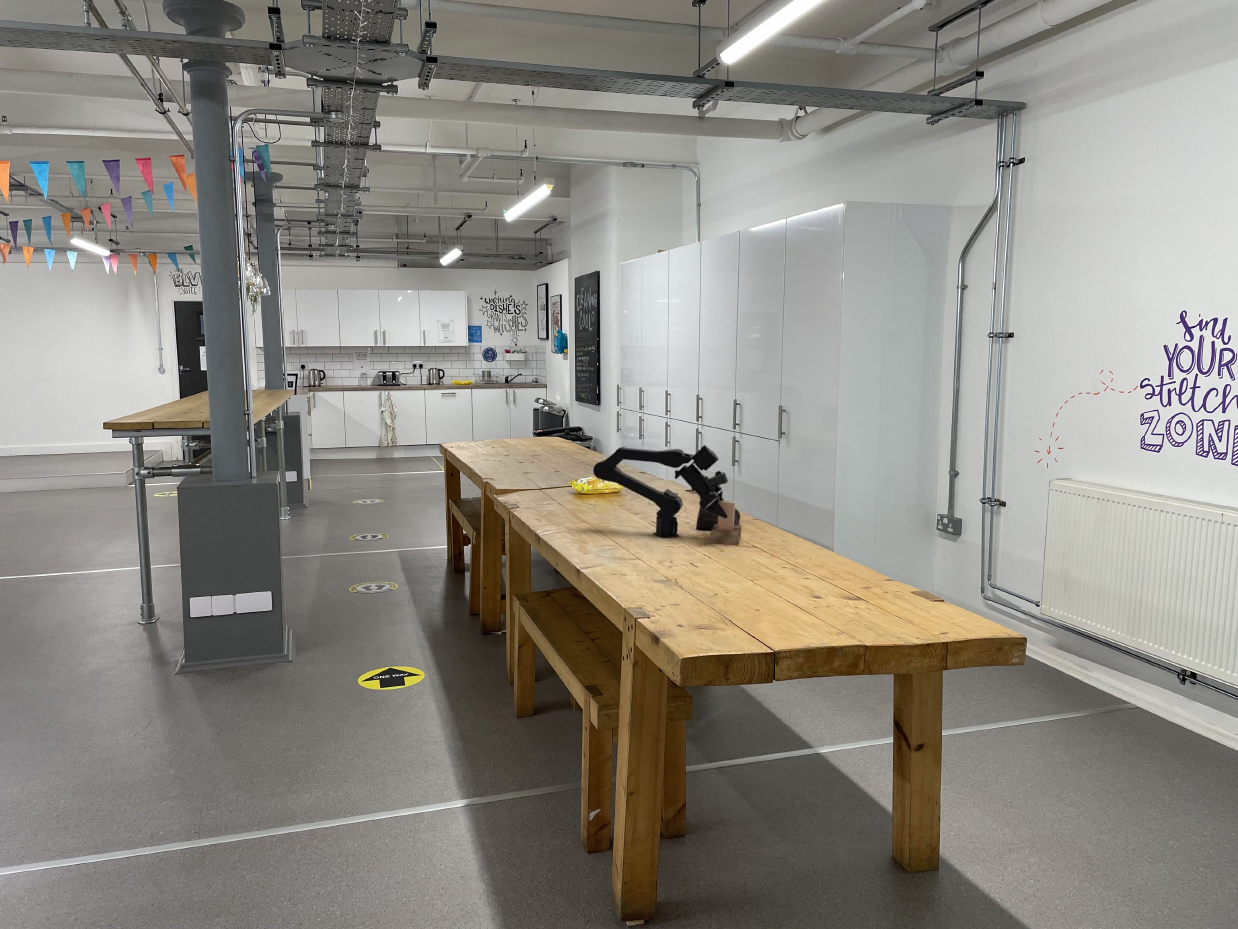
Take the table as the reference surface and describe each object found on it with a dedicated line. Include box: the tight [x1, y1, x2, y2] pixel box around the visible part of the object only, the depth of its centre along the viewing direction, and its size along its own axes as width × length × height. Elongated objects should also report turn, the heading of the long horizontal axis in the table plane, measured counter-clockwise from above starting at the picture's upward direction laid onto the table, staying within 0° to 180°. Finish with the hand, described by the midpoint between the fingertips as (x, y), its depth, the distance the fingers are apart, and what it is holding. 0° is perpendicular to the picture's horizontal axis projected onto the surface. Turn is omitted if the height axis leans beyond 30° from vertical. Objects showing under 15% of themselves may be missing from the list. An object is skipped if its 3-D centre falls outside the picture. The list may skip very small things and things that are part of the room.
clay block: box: [718, 500, 736, 531], centre depth 285 cm, size 5×4×12 cm
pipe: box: [695, 505, 741, 530], centre depth 305 cm, size 10×15×15 cm
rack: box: [709, 524, 742, 546], centre depth 285 cm, size 9×13×4 cm
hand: (727, 515), depth 284 cm, fingers open, 9 cm apart
